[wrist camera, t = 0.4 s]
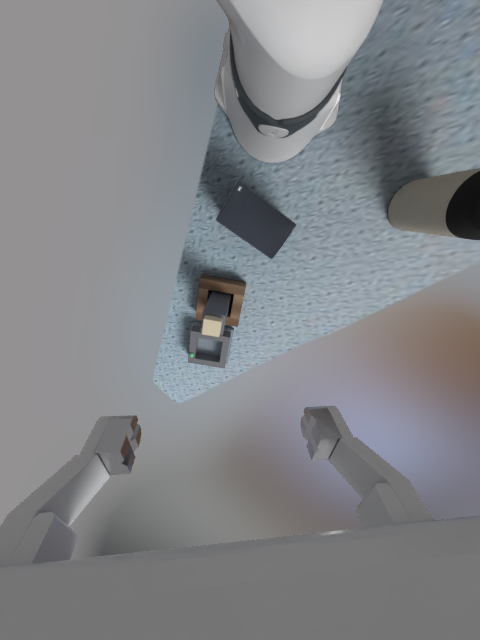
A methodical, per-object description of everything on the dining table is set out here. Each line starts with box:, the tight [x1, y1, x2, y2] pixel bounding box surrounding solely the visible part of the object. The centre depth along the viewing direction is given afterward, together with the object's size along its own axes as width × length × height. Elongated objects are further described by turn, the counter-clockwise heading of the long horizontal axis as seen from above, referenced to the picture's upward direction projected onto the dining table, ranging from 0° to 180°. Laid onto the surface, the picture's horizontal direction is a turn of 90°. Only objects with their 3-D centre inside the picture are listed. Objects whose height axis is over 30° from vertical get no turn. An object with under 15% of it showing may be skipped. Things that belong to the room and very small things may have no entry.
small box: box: [216, 180, 296, 259], centre depth 36 cm, size 11×6×10 cm, turn 57°
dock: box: [188, 321, 234, 368], centre depth 52 cm, size 10×10×4 cm
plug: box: [201, 290, 231, 337], centre depth 42 cm, size 4×4×14 cm
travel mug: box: [388, 168, 480, 240], centre depth 30 cm, size 8×8×18 cm
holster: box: [196, 274, 246, 327], centre depth 47 cm, size 9×9×3 cm
